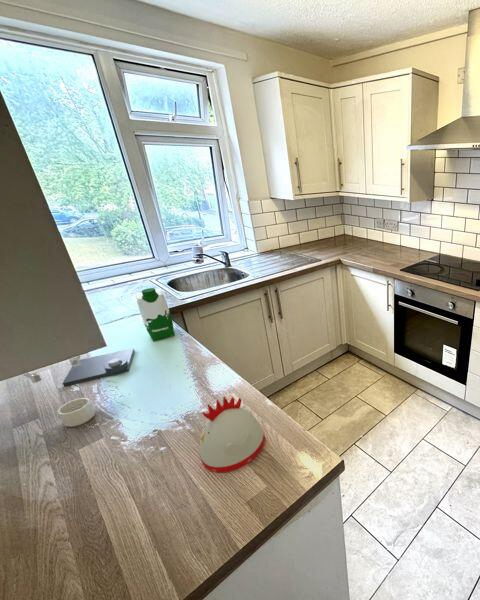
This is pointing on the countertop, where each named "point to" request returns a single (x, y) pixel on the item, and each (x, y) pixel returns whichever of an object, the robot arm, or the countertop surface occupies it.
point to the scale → (99, 367)
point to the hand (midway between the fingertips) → (57, 372)
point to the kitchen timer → (229, 437)
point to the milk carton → (155, 313)
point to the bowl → (76, 412)
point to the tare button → (114, 362)
